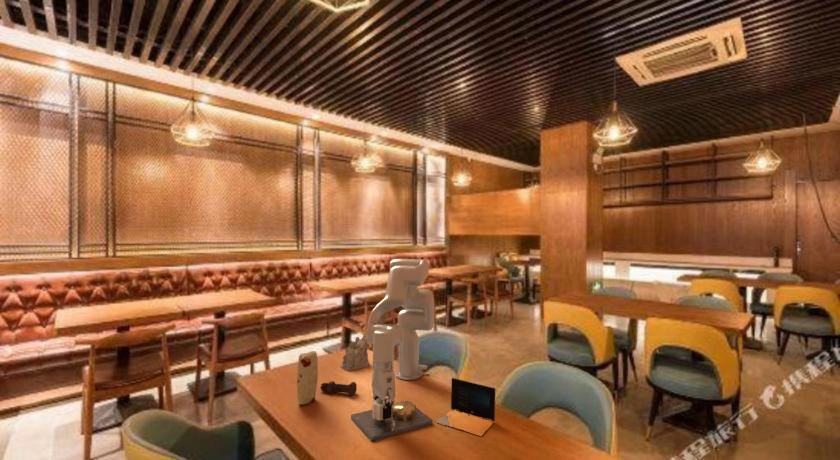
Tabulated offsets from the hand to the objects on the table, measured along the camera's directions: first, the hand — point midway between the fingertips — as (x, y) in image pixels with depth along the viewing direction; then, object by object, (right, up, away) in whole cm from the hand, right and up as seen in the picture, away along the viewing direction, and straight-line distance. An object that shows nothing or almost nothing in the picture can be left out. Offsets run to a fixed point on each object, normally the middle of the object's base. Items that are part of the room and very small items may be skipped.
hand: (382, 413), depth 142 cm
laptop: (+30, -5, +2) cm, 31 cm away
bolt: (-21, -4, +26) cm, 34 cm away
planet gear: (0, -1, 0) cm, 1 cm away
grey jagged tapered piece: (-21, -4, +62) cm, 66 cm away
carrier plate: (+3, -4, +2) cm, 5 cm away
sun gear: (+7, -2, +5) cm, 9 cm away
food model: (-32, -3, +17) cm, 36 cm away
